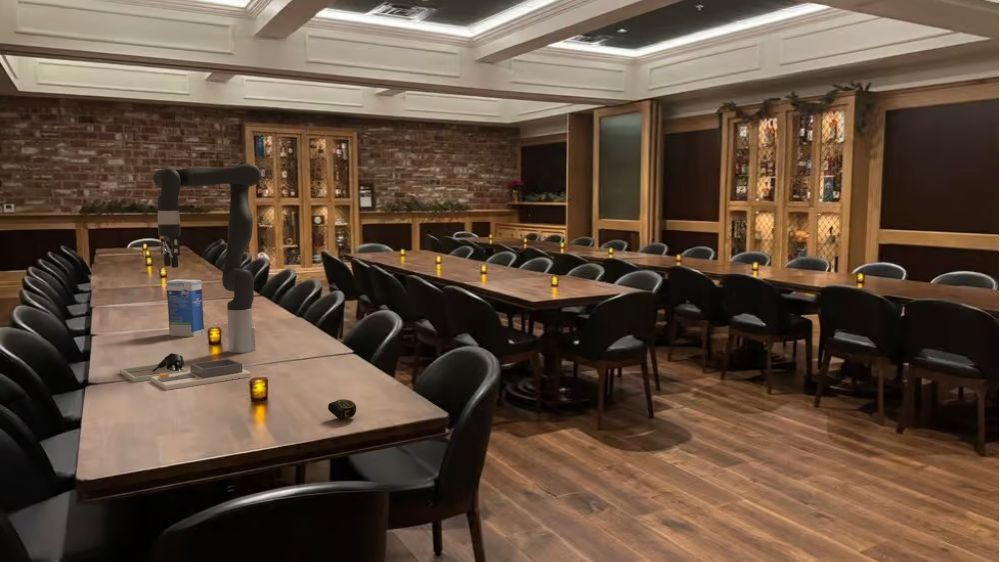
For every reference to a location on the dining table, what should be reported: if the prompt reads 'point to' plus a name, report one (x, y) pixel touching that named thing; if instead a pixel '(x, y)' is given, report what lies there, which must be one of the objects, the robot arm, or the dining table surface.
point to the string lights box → (185, 307)
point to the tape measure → (342, 408)
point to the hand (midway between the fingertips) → (171, 266)
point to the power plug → (171, 362)
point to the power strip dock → (202, 374)
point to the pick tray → (141, 368)
